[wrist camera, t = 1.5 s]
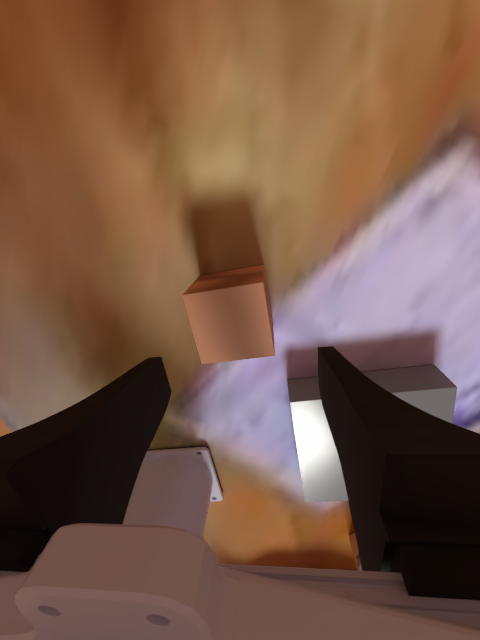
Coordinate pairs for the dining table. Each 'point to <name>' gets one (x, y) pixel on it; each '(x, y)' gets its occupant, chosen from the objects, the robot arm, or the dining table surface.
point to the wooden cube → (231, 315)
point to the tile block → (315, 436)
